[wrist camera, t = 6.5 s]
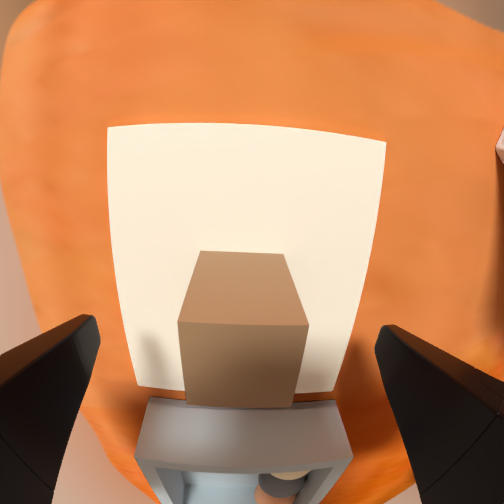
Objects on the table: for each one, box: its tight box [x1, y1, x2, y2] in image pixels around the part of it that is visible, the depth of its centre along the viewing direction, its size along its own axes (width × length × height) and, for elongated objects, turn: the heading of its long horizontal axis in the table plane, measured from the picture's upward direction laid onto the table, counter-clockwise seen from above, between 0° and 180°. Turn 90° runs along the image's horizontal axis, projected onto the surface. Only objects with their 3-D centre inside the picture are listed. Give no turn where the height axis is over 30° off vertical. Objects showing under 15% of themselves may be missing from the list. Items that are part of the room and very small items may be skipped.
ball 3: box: [254, 484, 296, 504], centre depth 15 cm, size 3×3×3 cm
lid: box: [107, 123, 386, 408], centre depth 9 cm, size 12×10×5 cm
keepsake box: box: [134, 397, 354, 504], centre depth 14 cm, size 12×10×4 cm
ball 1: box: [270, 470, 311, 480], centre depth 13 cm, size 3×3×3 cm
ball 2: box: [258, 473, 306, 498], centre depth 14 cm, size 3×3×3 cm
